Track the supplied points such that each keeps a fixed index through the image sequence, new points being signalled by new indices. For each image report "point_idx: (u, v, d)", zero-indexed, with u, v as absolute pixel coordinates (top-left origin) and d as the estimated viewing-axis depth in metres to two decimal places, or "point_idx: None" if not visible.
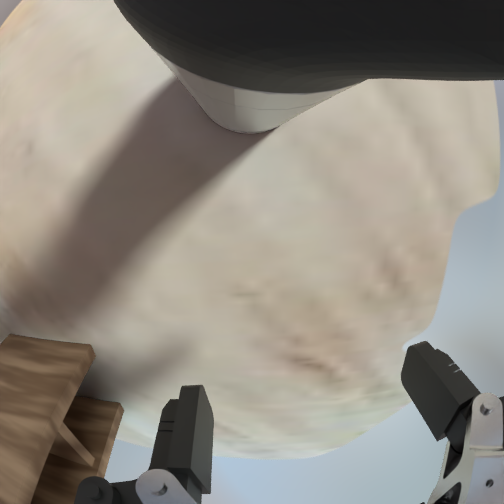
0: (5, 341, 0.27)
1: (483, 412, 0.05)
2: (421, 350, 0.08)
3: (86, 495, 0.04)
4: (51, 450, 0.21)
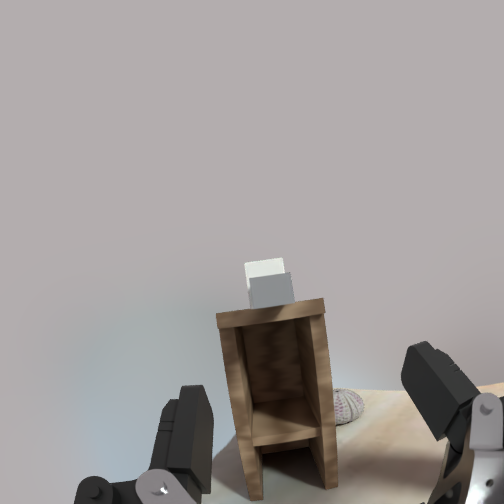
0: None
1: (483, 412, 0.05)
2: (421, 350, 0.08)
3: (86, 495, 0.04)
4: (261, 420, 0.39)
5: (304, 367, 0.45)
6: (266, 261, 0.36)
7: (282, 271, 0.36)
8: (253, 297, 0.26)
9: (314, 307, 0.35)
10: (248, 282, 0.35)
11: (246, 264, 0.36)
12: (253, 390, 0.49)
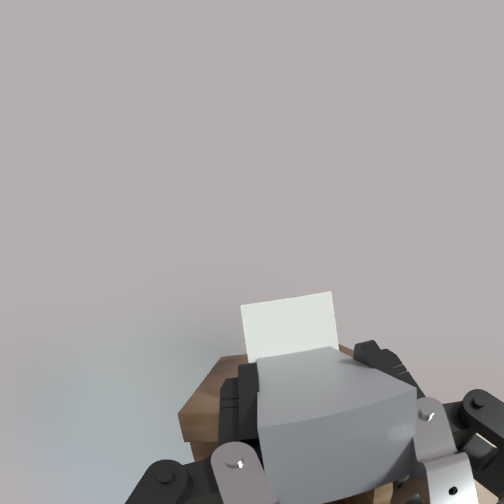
0: None
1: (419, 417, 0.05)
2: (365, 349, 0.09)
3: (155, 478, 0.05)
4: None
5: None
6: (294, 301, 0.15)
7: (331, 324, 0.14)
8: (274, 485, 0.05)
9: None
10: (250, 351, 0.14)
11: (245, 308, 0.15)
12: None
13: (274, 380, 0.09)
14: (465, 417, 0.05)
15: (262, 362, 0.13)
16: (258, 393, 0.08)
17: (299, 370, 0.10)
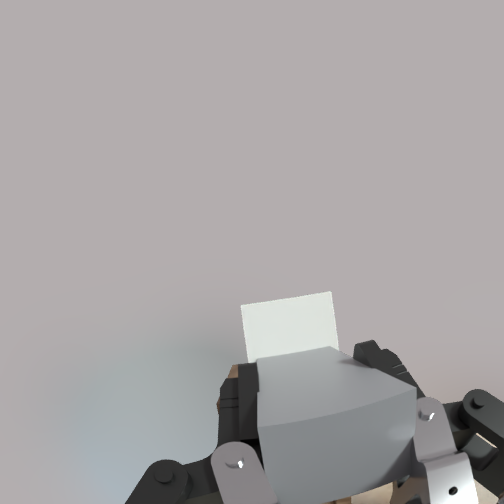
0: None
1: (419, 417, 0.05)
2: (365, 348, 0.09)
3: (155, 478, 0.05)
4: None
5: None
6: (294, 301, 0.15)
7: (331, 324, 0.14)
8: (274, 484, 0.05)
9: None
10: (250, 351, 0.14)
11: (246, 308, 0.15)
12: None
13: (273, 380, 0.09)
14: (465, 417, 0.05)
15: (262, 362, 0.13)
16: (258, 393, 0.08)
17: (299, 370, 0.10)
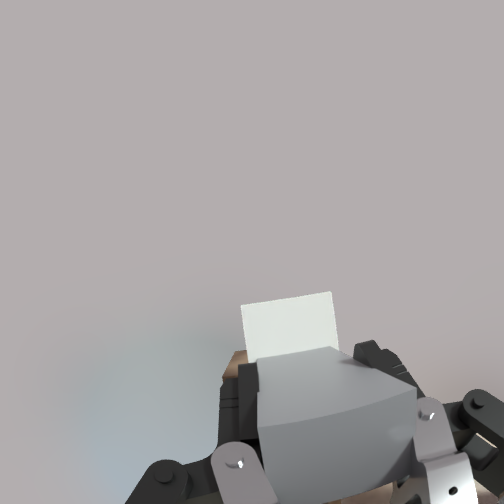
0: None
1: (419, 417, 0.05)
2: (365, 349, 0.09)
3: (155, 478, 0.05)
4: None
5: None
6: (294, 301, 0.15)
7: (331, 324, 0.14)
8: (274, 485, 0.05)
9: None
10: (250, 351, 0.14)
11: (245, 308, 0.15)
12: None
13: (274, 380, 0.09)
14: (465, 417, 0.05)
15: (262, 362, 0.13)
16: (258, 393, 0.08)
17: (299, 370, 0.10)
